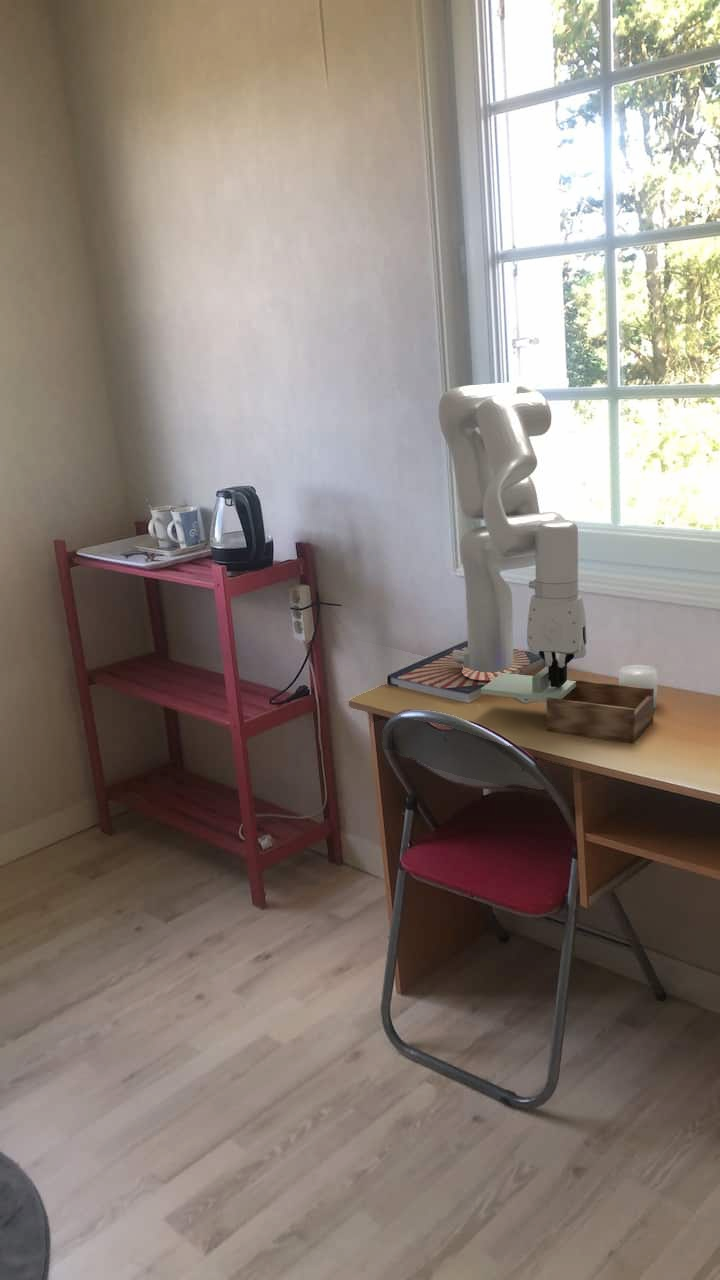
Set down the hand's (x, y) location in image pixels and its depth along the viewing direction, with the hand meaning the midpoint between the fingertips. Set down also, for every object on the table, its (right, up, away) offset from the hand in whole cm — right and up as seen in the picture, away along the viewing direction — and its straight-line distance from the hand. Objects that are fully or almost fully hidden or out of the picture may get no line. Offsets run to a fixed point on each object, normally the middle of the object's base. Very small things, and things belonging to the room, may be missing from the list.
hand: (557, 685), depth 202 cm
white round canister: (+17, -4, +7) cm, 18 cm away
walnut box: (+7, -7, -2) cm, 11 cm away
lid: (-5, -1, +3) cm, 6 cm away
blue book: (0, -3, +18) cm, 18 cm away
